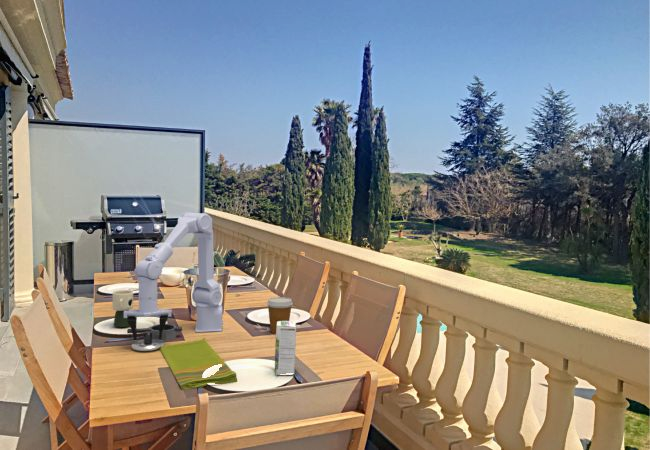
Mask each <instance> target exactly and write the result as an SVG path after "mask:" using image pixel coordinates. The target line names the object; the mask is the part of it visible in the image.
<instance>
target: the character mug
mask: <svg viewBox="0 0 650 450" xmlns="http://www.w3.org/2000/svg"><path fill="white" fill-rule="evenodd" d="M133 309H134V291H133V290H128V289H122V290H115V291H113V292H112V310H114V311H115V314H114V319H113V326H114V327H121V328H122V329H123V328H126V327H127V328H128V327H130V326H129V324H128V322H127V318H124V311H129V310H133Z"/></svg>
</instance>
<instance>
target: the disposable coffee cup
mask: <svg viewBox="0 0 650 450" xmlns="http://www.w3.org/2000/svg"><path fill="white" fill-rule="evenodd" d="M266 305H267V307H268V319H269V327H270V328H269V329H270V333H272V334H275V335H276V328H277V321H290V318H291V314H292V313H291V310H292V306H293V301H292V298H290V297H284V296H275V297H274V296H273V297H270V298H268V300H267V302H266Z"/></svg>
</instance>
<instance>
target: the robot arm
mask: <svg viewBox="0 0 650 450" xmlns="http://www.w3.org/2000/svg"><path fill="white" fill-rule="evenodd" d="M187 234H193V235H194V236H195V237H197V257H198V258H197V260H198V261H197V262H198V265H197V268H198V269H197V271H198V274H197V275H198V280H197V281H195V283H194V284H193V290H192V294H191V298H192V302H194V305H195V306H196V324H195V326H194V328H195V333H205V332H206V333H207V332H208V333H210V332H223V324H224V322H223V305H222V304H220V303H221V301H222V292H221V287H220V284H219V283H218V282H217V281H216V280H215V276H214V275H215V274H214V272H215V271H214V269H215V267H214V264H215V263H214V230H213V218H212V217H211V216H210V214H208V213H206V212H202V213H199V212H198V213H197V212H189V211H184V212H183V213H182V214H181V215H180V216H179V217H178V219H177V224H176V225H175V226H174V228H173V229H172V231H171V232H170V234H169V235H168V236H167V238H166V239H165V240H164V242H158V243H156V244H155V245H154V248H153V249H152V250H151V252H150V253H149V254H148V255H147V256H146V257H145V259H143V260H140V261H139V262H137V264H136V266H135V268H134V275H135V276H137V282H138V309H130V310H129V311H124V318H127V322H128V324H129V326H128V327H129V329H131V330H132V333H131V334H132V336H133V340H134V341H137V340H138V338H137V337H138V336H137V335H138V333H137V330H136V329H137V321H138V319H137V318H146V317H148V318H149V317H151V318H152V317H159V320H158V321H159V324H160V330H159V339H161V338H162V331H163V328H164V326H165V324H167V321H168V318H170V317H172V314H173V313H172V309H167V308H166V309H164V308H163V309H161V308H158V278H159V277H160V276H161V275H162V272H163V268H164V265H165V264H166V262H167V261H168V260H169V259H170V258H171V256H173V254H174V251H173V249H174V248H175V247H176V245H178V244H179V242H180V241H181V240H183V238H184V237H185V236H186V235H187Z"/></svg>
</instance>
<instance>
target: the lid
mask: <svg viewBox="0 0 650 450" xmlns="http://www.w3.org/2000/svg"><path fill="white" fill-rule="evenodd" d="M163 346H165V341H162V340H159V339H152V332H150V331H148V332H144V333H143V339H137V340H134V342H132V343H131V349H133V350H134V351H138V352H140V351H141V352H150V351H155V350H158V349H159V350H160V348H161V347H163Z"/></svg>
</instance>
